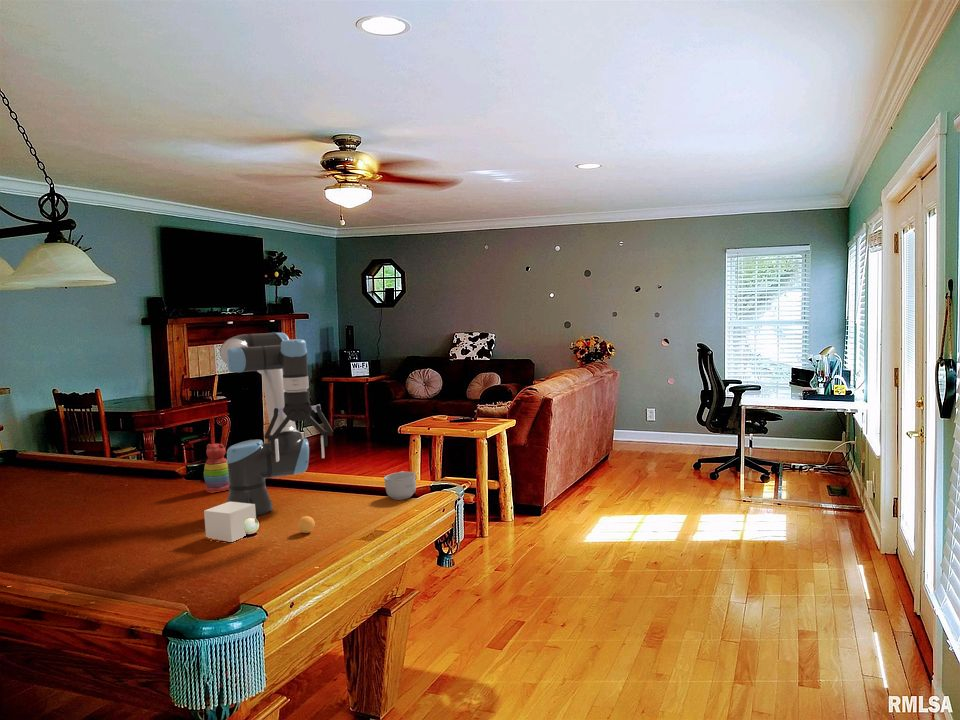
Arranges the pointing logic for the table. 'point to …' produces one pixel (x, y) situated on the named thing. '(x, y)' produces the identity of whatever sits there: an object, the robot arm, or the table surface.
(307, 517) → the ball
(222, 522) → the white gift box
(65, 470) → the table surface
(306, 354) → the robot arm
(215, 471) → the stacking bear
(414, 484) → the teacup
